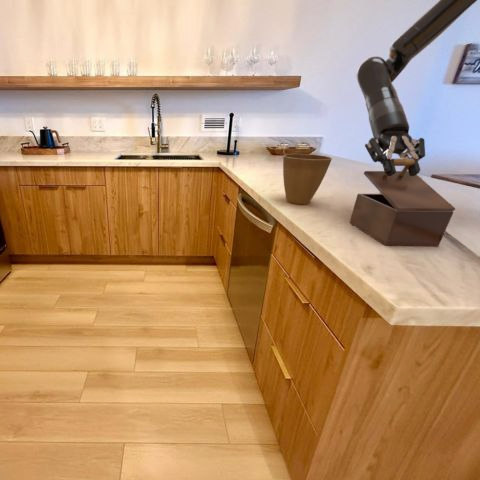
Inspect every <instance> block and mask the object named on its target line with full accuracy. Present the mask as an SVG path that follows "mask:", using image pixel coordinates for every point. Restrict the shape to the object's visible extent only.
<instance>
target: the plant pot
mask: <svg viewBox="0 0 480 480" xmlns="http://www.w3.org/2000/svg"><path fill="white" fill-rule="evenodd" d="M332 159H333V158H332V157H330V156H328V155H327V156H326V155H321V154H320V155H319V154H311V153H310V154H309V153H287V154H284V155H283V161H282V175H283V176H282V177H283V187H284V194H285V199H286V201H287V202H288V203H290V204H294V205H308V204H310V202H311V201H312V200H313V197H314V196H315V195H316V193H317V191H318V189H319V188H320V186H321V184H322V183H323V180H324V178H325V177H326V174H327V173H328V169H329V167H330V165H331V162H332Z"/></svg>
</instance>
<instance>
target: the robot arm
mask: <svg viewBox="0 0 480 480" xmlns="http://www.w3.org/2000/svg"><path fill="white" fill-rule="evenodd" d="M476 2H478V0H438V2H436V3H434V5H433V6H432V7H431V8H430V9H428V10H427V11H426V12H425V13H424V14H423V15H422V16H420V17H419V18H418V19H417V20H416V21H415V22H414V23H413V24H412V25H410V26H409V27H408V28H407V29H406V30H405V31H404V32H403V33H401V34H400V35H399V36H398V37H397V38H395V40H394V41H393V42H392V43H391V44H390V47H389V53H388V57H387V58H386V59H384V58H383V57H382V56H376V55H375V56H371V57H367V58H366V59H365V60H363V61H362V63H360V65H359V66H358V68H357V71H356V74H355V75H356V81H357V84H358V86H359V88H360V90H361V93H362V95H363V97H364V98H363V99H364V102H365V106H366V110H367V115H368V123H369V125H370V129H371V133H372V136H373V137H371V138H370V139H369V140H368V141H367V142H366V143H365V144H364V147H365V149H366V151H367V153H368V155H369V157H370V159H371V161H372V162H374V163H377V162H378V163H380V164H381V165H382V168H383V171H384V172H385V173H386V174H387V176H392V175H393V174H394V173H395V172H396V171H397V170H396V166H395V165H394V162H393V159H394V158H393V154H395V155H397V156H398V157H399V159H414V160H415V163H414V165H412V166H410V167H409V168H408V170H407V171H409V175H410V176H415V175H416V174H417V175H418V174H419V173H420V172H421V167H420V164H419V161H420V160H422V159H423V158H425V157H426V141H425V138H424V137H420V138H419V139H415V138H413V137H412V136H411V135H410V134H409V132H410V125H409V122H408V118H407V115H406V112H405V110H404V107H403V104H402V103H401V101H400V98H399V95H398V92H397V89H396V88H395V86H394V85H393V82H394V81H395V80H396V79H397V78H398V77H399V75H400V74H401V73H402V72H403V71H404V70H405V69H406V67H407V66H408V64H409V63H410V62H411V61H412V60H413V59H414V58H415V57H417V56H418V55H419V54H420V53H422V52H423V51H424V50H425V49H426V48H427V47H428V46H430V45H431V44H432V43H433V42H434V41H435V40H437V38H439V37H440V36H441V35H442V34H443V33H444V32H445V31H446V30H447V29H448V28H450V27H451V26H452V24H454V23H455V22H456V21H457V20H458V19H459V18H460V17H461V16H462V15H463V14H464V13H465V12H466V11H468V9H470V8H471V7H472V6H473V5H474V4H475V3H476Z"/></svg>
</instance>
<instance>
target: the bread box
mask: <svg viewBox="0 0 480 480" xmlns="http://www.w3.org/2000/svg"><path fill="white" fill-rule="evenodd" d="M453 214H454V211H397V210H396V209H395V208H394V207H393V206H392V205H391V204H390V203H389V201H388V200H387V199H386V198H385V197H384V196H383V195H382V194H379V193H357V195H356V198H355V202H354V205H353V209H352V213H351V216H350V219H349V224H350V223H351V224H350V225H352V226H354V227H355V226H356V227H355V228H357V229H358V228H359V229H358V230H360V231H361V230H362V232H363V233H364V234H366V233H367V234H366V235H367V236H369V235H370V236H369V237H371V238H372V237H373V238H372V239H374V240H375V241H377V242H378V243H380V244H382V245H383V246H385V247H389V246H390V247H399V246H400V247H439V246H440V244H441V241H442V240H443V237H444V235H445V233H446V230H447V228H448V226H449V223H450V222H451V219H452V216H453Z"/></svg>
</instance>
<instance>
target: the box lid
mask: <svg viewBox="0 0 480 480" xmlns="http://www.w3.org/2000/svg"><path fill="white" fill-rule="evenodd" d="M392 159H393V162H394V165H395V167H403V169H402V170H400V171H399V170H396V172H395V173H394V174H393V175H392V176H387V174H386V173H385V172H384V170H365V171H364V172H363V175H364V176H365V177H366V178H367V180H369V182H370V183H371V184H372V185H373V187H375V188H376V189H377V190H378V191H379V193H381V194H382V195H383V196H384V197H385V198H386V199H387V200H388V201H389V203H390V204H391V205H392V206H393V207H394V208H395V209H396V210H397V211H452V212H454V211H455V210H456V208H455V206H453V205H452V204H451V203H450V202H449V201H448V200H447V199H446V198H444V197H443V196H442V195H441V194H440V193H438V191H436V190H435V189H434V188H433V187H432V186H431V185H429V184H428V183H427V182H426V181H425V180H424V179H423V178H422V179H421V178H420V177H419V176H420V175H418V174H416V175H415V176H410V175H409V171H408V168H409V167H410V166H412V165H414V163H415V160H414V159H403V158H392Z"/></svg>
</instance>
